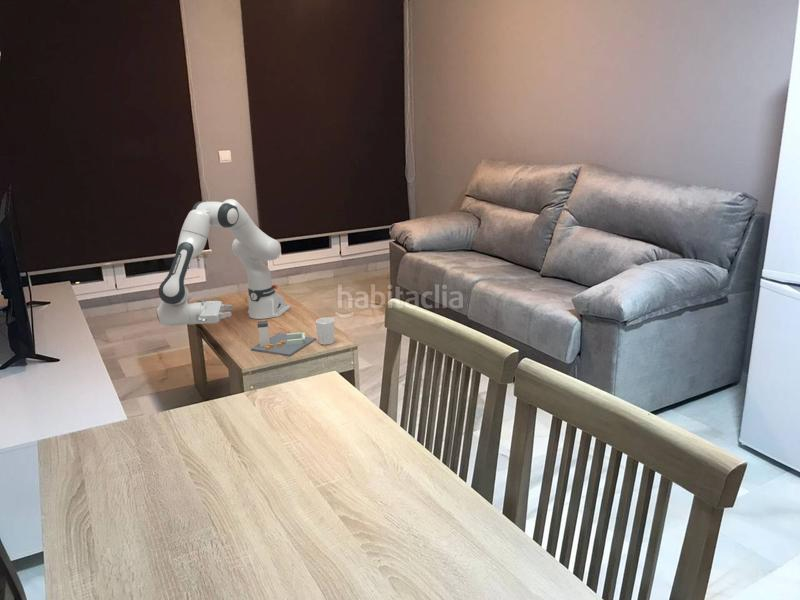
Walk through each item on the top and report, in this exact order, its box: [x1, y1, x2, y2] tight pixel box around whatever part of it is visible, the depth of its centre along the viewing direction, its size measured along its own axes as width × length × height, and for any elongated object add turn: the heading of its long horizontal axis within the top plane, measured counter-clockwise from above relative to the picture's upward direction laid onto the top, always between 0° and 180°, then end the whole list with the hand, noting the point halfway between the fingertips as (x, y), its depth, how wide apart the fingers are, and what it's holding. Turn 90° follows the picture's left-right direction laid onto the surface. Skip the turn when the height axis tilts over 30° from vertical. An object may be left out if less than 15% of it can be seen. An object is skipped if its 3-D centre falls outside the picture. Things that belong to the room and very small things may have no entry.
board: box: [250, 332, 317, 357], centre depth 282 cm, size 20×20×2 cm
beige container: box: [257, 320, 270, 347], centre depth 280 cm, size 4×4×10 cm
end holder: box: [286, 331, 306, 345], centre depth 284 cm, size 8×9×2 cm
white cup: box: [315, 317, 335, 345], centre depth 282 cm, size 8×8×10 cm
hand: (232, 310), depth 275 cm, fingers open, 8 cm apart
